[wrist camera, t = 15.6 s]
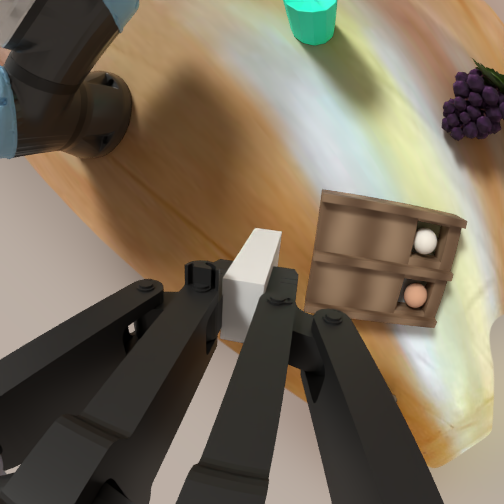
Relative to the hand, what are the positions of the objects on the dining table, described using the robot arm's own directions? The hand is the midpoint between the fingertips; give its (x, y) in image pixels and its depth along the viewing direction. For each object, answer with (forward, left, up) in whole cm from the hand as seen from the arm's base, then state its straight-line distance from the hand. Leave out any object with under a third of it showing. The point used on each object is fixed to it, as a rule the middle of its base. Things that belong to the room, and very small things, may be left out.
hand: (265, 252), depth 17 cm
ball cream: (+19, -3, -22) cm, 29 cm away
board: (+13, -7, -24) cm, 28 cm away
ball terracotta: (+19, -11, -22) cm, 32 cm away
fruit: (+24, +18, -24) cm, 38 cm away
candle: (0, +24, -24) cm, 34 cm away
